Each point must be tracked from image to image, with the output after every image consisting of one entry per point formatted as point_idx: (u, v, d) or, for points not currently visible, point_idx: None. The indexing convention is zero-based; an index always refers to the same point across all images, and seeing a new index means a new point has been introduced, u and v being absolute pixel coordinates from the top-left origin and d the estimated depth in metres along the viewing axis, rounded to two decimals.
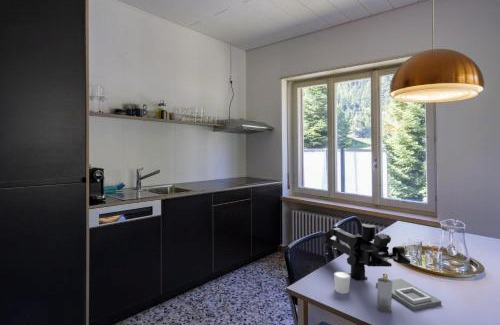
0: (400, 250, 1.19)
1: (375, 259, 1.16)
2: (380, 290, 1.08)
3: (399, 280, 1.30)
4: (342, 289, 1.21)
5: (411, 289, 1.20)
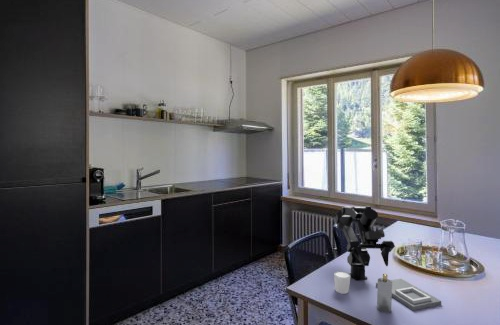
0: (387, 248, 1.19)
1: (356, 251, 1.21)
2: (380, 290, 1.08)
3: (399, 280, 1.30)
4: (342, 289, 1.21)
5: (411, 289, 1.20)
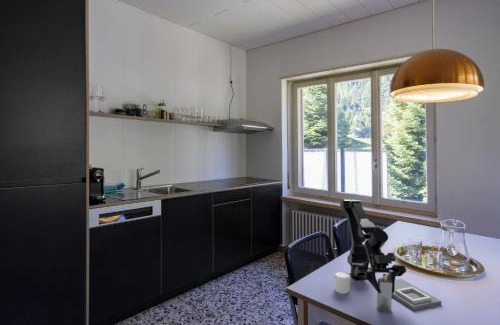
0: (394, 273, 1.10)
1: (369, 275, 1.12)
2: (380, 290, 1.08)
3: (399, 280, 1.30)
4: (342, 289, 1.21)
5: (411, 289, 1.20)
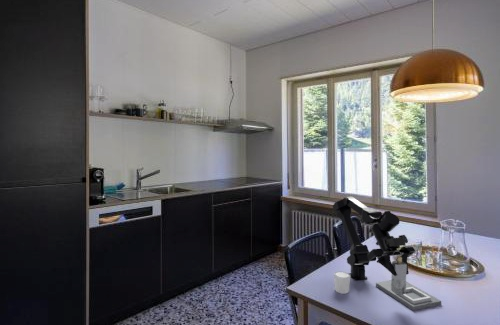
0: (405, 255, 1.12)
1: (383, 259, 1.12)
2: (396, 272, 1.08)
3: None
4: (342, 289, 1.21)
5: (411, 289, 1.20)
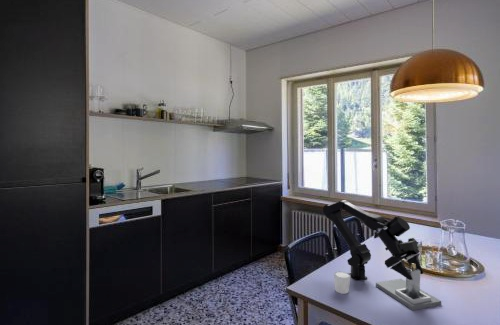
0: (417, 256, 1.19)
1: (397, 265, 1.14)
2: (413, 279, 1.13)
3: (399, 280, 1.30)
4: (342, 289, 1.21)
5: None
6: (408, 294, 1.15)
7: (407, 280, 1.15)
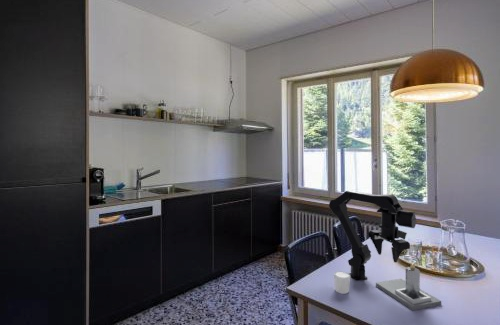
0: None
1: None
2: (413, 279, 1.13)
3: (399, 280, 1.30)
4: (342, 289, 1.21)
5: None
6: (408, 294, 1.15)
7: (407, 280, 1.15)
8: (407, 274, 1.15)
